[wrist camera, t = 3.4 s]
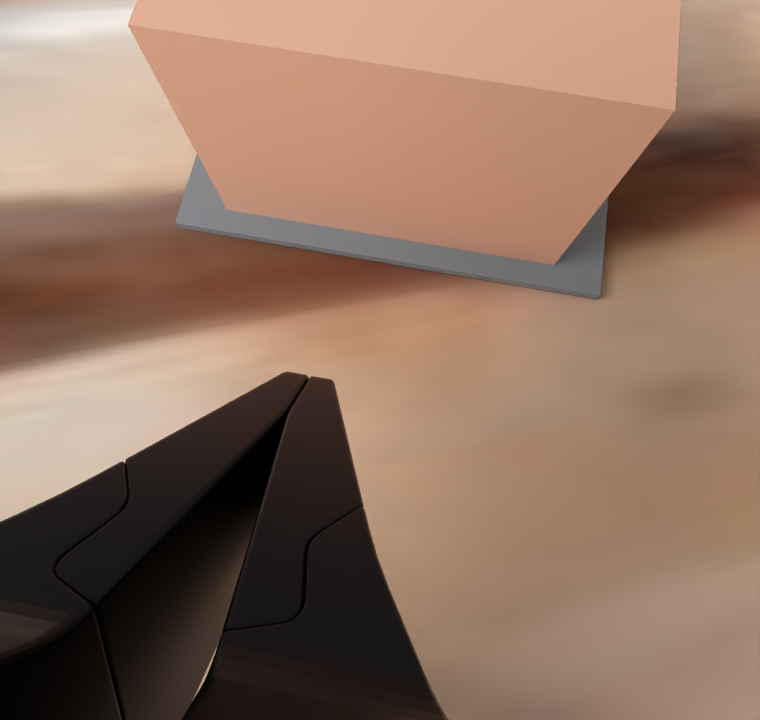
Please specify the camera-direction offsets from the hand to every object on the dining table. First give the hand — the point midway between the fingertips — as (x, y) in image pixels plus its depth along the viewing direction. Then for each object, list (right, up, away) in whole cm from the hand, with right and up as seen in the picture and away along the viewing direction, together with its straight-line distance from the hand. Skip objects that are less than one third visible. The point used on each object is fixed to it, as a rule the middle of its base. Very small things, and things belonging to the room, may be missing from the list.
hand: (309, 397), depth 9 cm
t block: (+3, +12, +14) cm, 19 cm away
